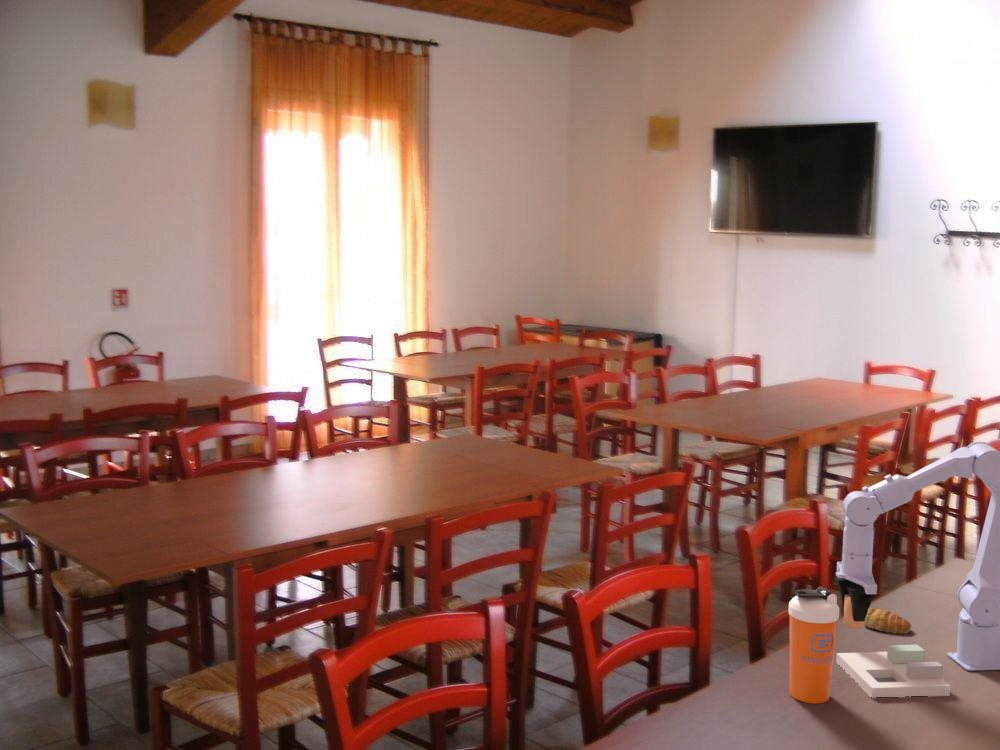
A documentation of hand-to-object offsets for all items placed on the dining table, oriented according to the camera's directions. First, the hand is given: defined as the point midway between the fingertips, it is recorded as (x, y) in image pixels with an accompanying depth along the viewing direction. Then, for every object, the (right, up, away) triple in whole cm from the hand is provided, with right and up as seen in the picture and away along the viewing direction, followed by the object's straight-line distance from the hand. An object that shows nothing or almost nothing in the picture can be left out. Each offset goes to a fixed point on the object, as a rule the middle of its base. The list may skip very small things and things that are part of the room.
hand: (854, 616), depth 209 cm
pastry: (+12, -6, +16) cm, 21 cm away
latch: (+8, -7, -7) cm, 12 cm away
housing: (+4, -9, -11) cm, 15 cm away
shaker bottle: (-14, -11, -18) cm, 25 cm away
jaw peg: (0, -2, 0) cm, 2 cm away
